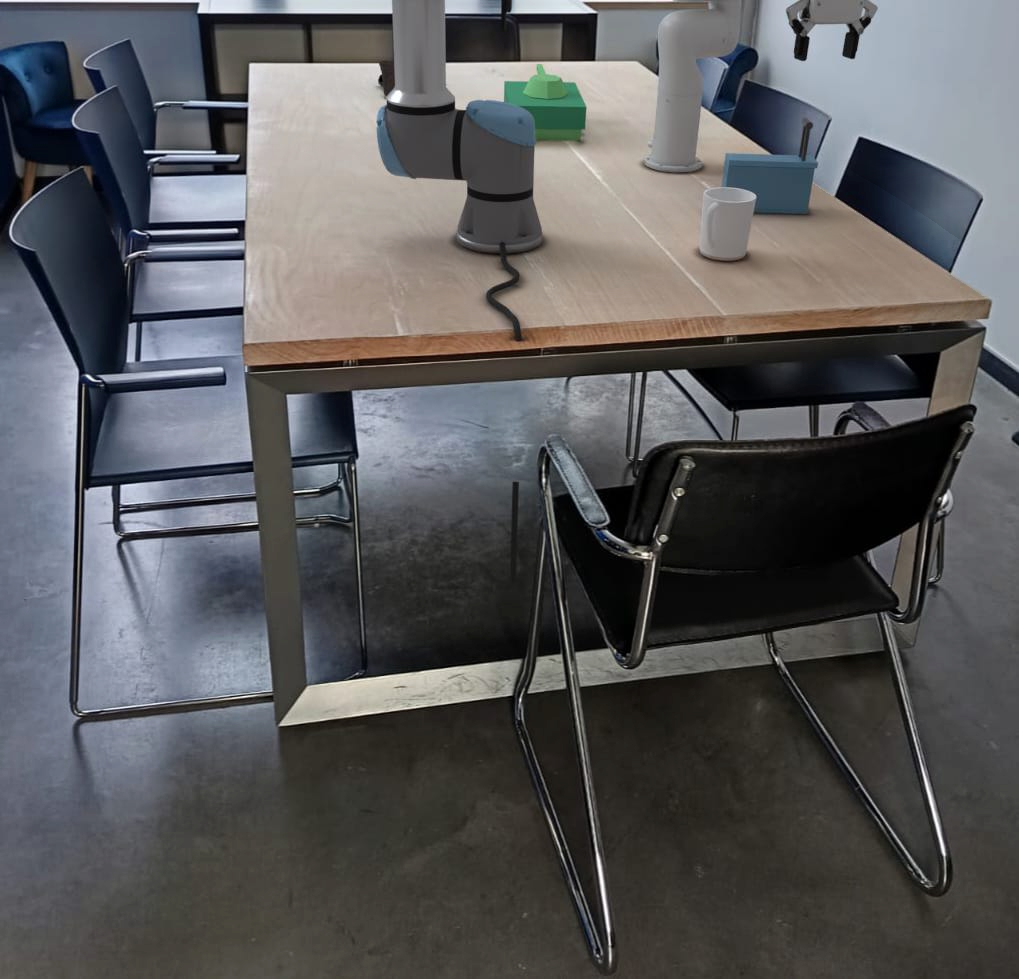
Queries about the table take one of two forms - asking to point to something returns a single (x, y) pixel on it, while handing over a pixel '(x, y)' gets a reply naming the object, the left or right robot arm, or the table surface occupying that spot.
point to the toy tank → (549, 105)
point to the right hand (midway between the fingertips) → (824, 58)
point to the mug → (726, 222)
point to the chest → (773, 187)
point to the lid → (778, 160)
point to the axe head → (387, 76)
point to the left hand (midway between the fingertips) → (470, 28)
